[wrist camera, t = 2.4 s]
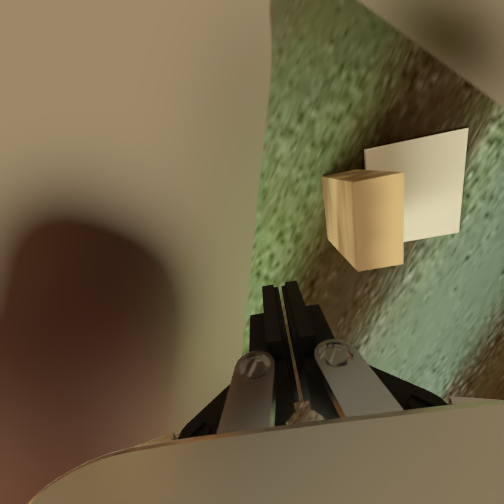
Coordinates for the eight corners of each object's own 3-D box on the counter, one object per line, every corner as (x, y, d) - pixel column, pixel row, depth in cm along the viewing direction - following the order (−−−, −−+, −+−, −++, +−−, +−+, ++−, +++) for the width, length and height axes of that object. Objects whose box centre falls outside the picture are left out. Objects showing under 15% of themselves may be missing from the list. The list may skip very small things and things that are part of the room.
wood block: (355, 169, 28) (404, 172, 19) (359, 233, 31) (403, 263, 22) (321, 176, 29) (352, 182, 19) (327, 239, 31) (357, 271, 22)
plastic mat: (465, 128, 27) (468, 127, 26) (456, 231, 31) (458, 232, 30) (364, 149, 28) (365, 149, 27) (367, 246, 32) (369, 247, 31)
